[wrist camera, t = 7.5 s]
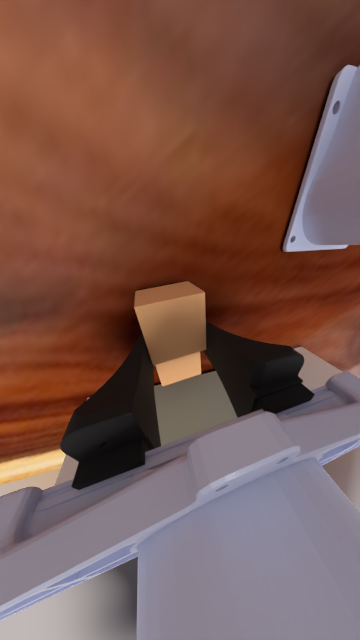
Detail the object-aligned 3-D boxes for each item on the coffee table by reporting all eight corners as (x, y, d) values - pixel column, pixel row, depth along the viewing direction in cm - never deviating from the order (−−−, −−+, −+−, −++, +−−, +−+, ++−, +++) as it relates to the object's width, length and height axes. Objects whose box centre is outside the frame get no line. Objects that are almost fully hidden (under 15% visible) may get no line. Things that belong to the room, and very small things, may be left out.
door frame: (87, 397, 15) (51, 493, 9) (301, 346, 21) (362, 384, 15) (92, 404, 16) (62, 497, 10) (297, 353, 22) (354, 391, 16)
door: (129, 390, 16) (123, 458, 11) (269, 356, 20) (313, 394, 15) (133, 400, 17) (128, 466, 12) (266, 365, 21) (306, 403, 16)
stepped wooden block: (135, 290, 11) (134, 307, 8) (187, 280, 11) (205, 292, 8) (159, 371, 16) (164, 400, 13) (194, 360, 16) (207, 385, 13)
